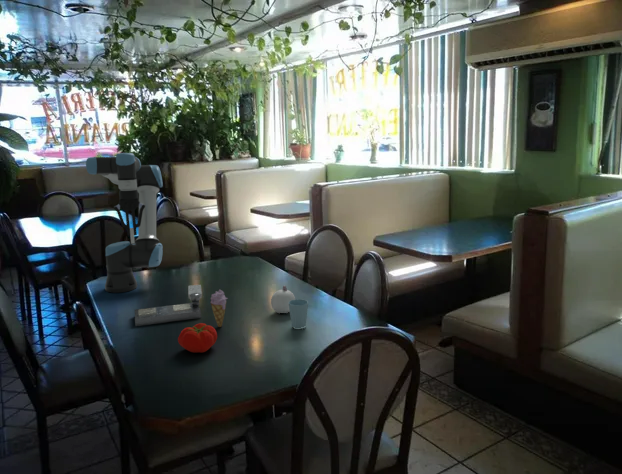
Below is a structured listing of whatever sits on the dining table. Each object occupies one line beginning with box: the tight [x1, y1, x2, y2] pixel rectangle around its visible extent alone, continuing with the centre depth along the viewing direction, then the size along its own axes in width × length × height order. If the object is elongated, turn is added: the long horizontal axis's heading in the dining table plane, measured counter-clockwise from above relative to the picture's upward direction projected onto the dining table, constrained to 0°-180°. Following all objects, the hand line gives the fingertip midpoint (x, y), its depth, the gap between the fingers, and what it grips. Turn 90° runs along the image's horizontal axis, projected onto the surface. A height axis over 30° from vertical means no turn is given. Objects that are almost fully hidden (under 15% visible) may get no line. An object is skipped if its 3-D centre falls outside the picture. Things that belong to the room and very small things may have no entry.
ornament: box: [270, 285, 296, 314], centre depth 214 cm, size 10×10×12 cm
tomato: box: [177, 322, 218, 353], centre depth 177 cm, size 14×13×9 cm
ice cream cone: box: [210, 289, 229, 328], centre depth 199 cm, size 7×6×15 cm
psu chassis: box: [134, 300, 202, 327], centre depth 211 cm, size 12×26×5 cm, turn 110°
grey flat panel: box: [187, 284, 203, 302], centre depth 222 cm, size 6×18×2 cm, turn 14°
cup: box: [289, 298, 309, 328], centre depth 198 cm, size 8×8×10 cm
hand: (132, 242), depth 221 cm, fingers closed
